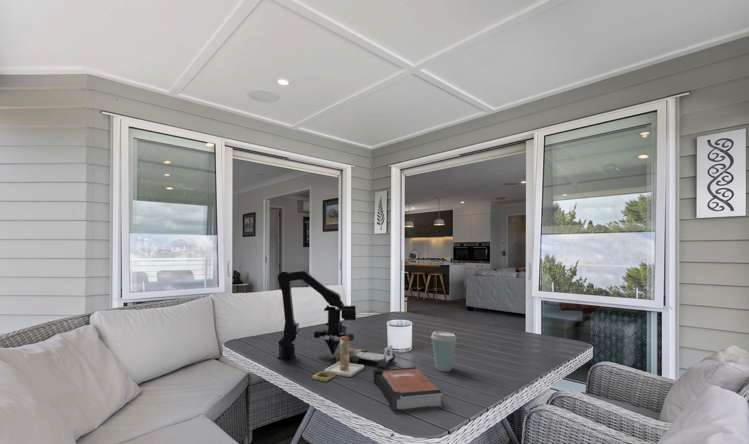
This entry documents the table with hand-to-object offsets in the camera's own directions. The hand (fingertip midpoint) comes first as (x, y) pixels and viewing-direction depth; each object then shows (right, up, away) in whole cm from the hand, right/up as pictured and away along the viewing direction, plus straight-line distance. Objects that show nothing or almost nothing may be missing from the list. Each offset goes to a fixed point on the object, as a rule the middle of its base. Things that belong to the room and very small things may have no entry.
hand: (333, 354), depth 170 cm
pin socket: (-1, +1, -27) cm, 27 cm away
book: (+30, +1, -42) cm, 51 cm away
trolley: (+18, -1, -8) cm, 20 cm away
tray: (+7, 0, -18) cm, 20 cm away
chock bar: (+8, -1, -3) cm, 8 cm away
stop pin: (+7, 0, -18) cm, 20 cm away
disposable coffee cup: (+48, 0, -17) cm, 51 cm away
